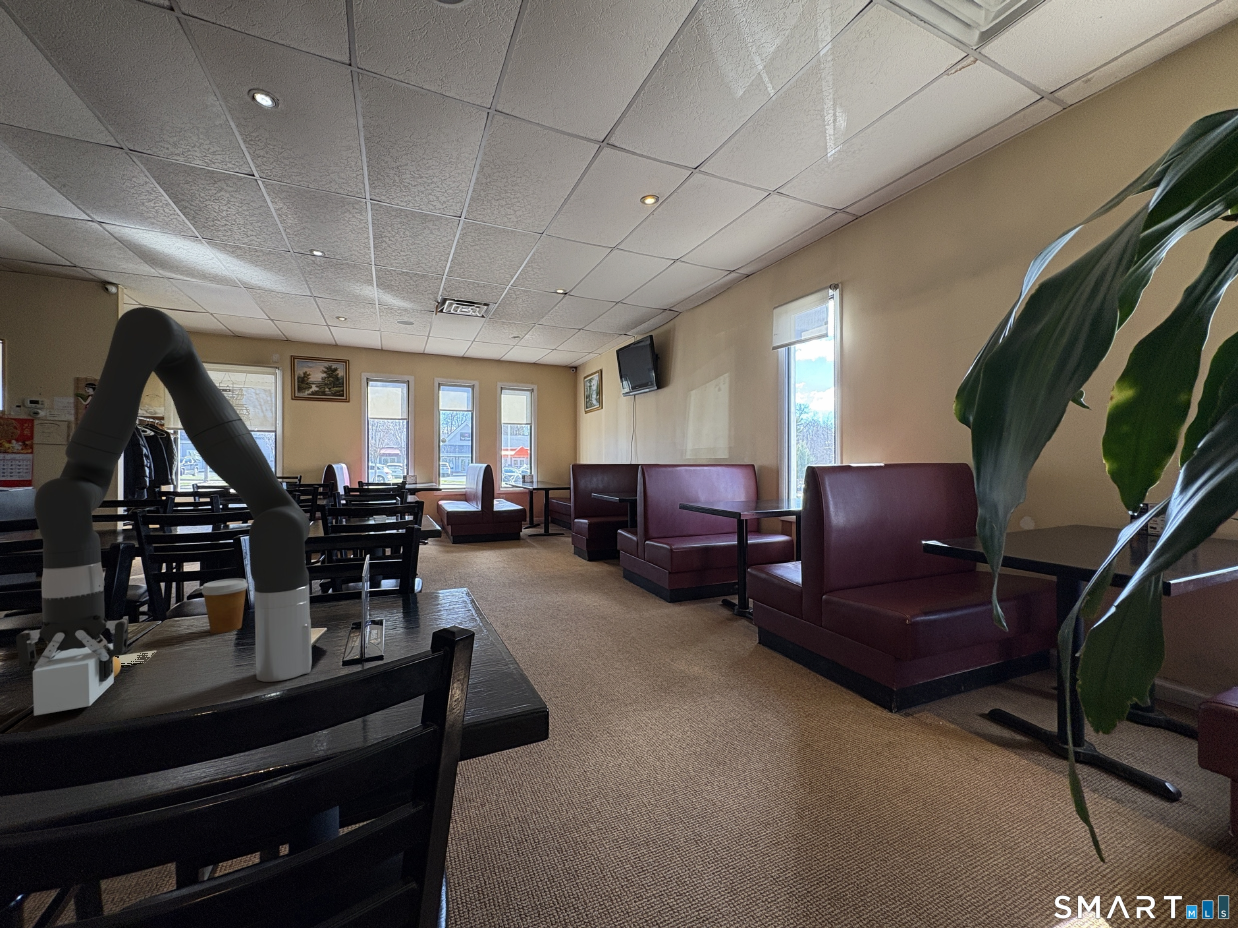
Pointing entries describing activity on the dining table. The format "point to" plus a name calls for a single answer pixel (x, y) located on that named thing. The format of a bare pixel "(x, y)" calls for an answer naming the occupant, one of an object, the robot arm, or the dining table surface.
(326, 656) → the dining table surface
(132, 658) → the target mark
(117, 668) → the brown egg
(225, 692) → the dining table surface
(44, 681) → the white angular block
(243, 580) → the disposable coffee cup
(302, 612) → the robot arm
